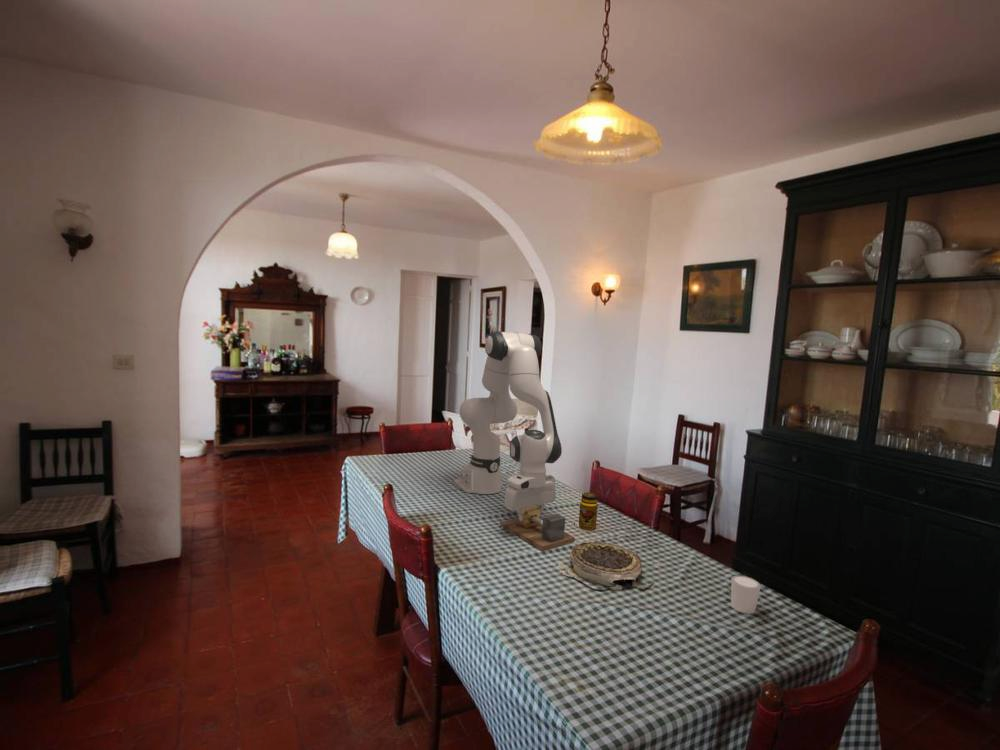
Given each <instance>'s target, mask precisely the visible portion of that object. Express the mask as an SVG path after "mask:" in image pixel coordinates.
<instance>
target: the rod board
mask: <svg viewBox="0 0 1000 750" xmlns="http://www.w3.org/2000/svg"><path fill="white" fill-rule="evenodd" d="M515 512H516V515H517V516H519V514H518V512H517V510H515ZM519 521H520V520H519V517H516V518H513V519H512V518H511V519H508V520H504V521H500V524H499V526H501V527H500V528H502V527H503V528H505V529H506V530H505V529H504V530H505V531H507V530H508V531H507V532H509V533H510V532H511V533H510V534H512V533H513V535H514V534H515V535H516V537H517V536H518V537H517V538H519V539H521V540H523V541H524V542H526V543H528V544H529V545H531V546H533V547H534V548H536V549H538V550H539V551H541V552H546V551H548V550H551V549H555V548H559V547H561V546H565V545H568V544H572V543H576V542H575V538H576V537H575V536H574V535H571V534H569V533H567V532H566V531H565V529H566V526H565V525H566V517H564V516H562V515H560V514H558V513H554V514H551V515H546V516H542V519H541V518H540V519H539V518H537V517H535V516H531V521H532V522H533V523H535V524H537V525H536V526H532V527H529V528H526V527H524V526H522V525H521V524H519ZM503 528H502V529H503ZM515 535H514V536H515Z"/></svg>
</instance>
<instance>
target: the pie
mask: <svg viewBox="0 0 1000 750" xmlns="http://www.w3.org/2000/svg"><path fill="white" fill-rule="evenodd" d="M569 558H570V560H571V563H572V564H571V566H573V567H571V566H570V567H567V566H562V565H564V563H562V562H561V563H560V562H559V563H557V568H560V569H562V570H567V573H568V574H566V573H564V572H563V571H561V570H559V572H560V573H561V575H563V576H566V577H571V578H574V579H576V580H577V581H580V579H579V577H581V579H584V580H586V581H589V582H592V583H595V584H601V585H604V586H606V587H607V588H604V589H602V591H604V590H606V589H611V590H613V591H616V590H617V591H621V590H623V586H622V585H620V584H618V583H617V584H616V583H614V581H622V580H624V581H626V580H632V581H631V586H632V587H634V588H636V589H637V590H638V589H641V590H645V589H649V588H651V586H652V585H653V584H654V583H655V582H652V583H650V584H649V585H647V587H645V586H641V585H638V584H637V583H636V580H637V578H638V577H639V575H640V574H641V572H642V569H643V564H642V562H643V559H641V556H640V555H639V554H638V552H636V551H633V550H631V549H628V548H624V547H623V546H620V545H618V544H615V543H611V542H609V543H607V542H606V541H605V542H604V541H603V542H602V541H597V542H595V541H590V542H586V541H584V542H581V543H577V544H576V545H573V547H572V548H571V550H570V553H569ZM560 559H561V560H563V558H562V557H560ZM580 582H582V583H583V584H585V585H586V586H587V587H589V588H591V589H594V590H595V589H596V588H592V587H591V586H590V585H589V584H587V583H586V582H583V581H580ZM596 590H597V591H598V589H596Z"/></svg>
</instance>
